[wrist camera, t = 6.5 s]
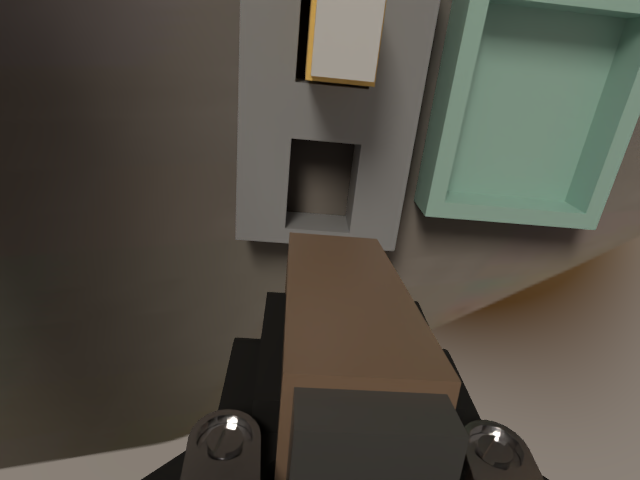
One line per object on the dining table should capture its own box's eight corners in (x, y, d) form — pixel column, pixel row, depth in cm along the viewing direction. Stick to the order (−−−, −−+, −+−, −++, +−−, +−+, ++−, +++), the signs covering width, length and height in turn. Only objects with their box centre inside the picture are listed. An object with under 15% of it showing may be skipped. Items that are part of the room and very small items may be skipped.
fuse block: (248, -57, 23) (241, -70, 21) (432, -35, 24) (448, -45, 21) (241, 221, 30) (235, 239, 27) (386, 232, 30) (394, 251, 28)
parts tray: (456, -21, 24) (476, -30, 22) (643, 1, 25) (684, -4, 22) (413, 200, 30) (425, 216, 27) (569, 213, 30) (595, 229, 28)
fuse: (311, -17, 24) (315, -49, 16) (365, -11, 24) (396, -39, 16) (305, 70, 26) (305, 81, 18) (355, 75, 26) (378, 88, 18)
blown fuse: (289, 232, 15) (280, 415, 6) (376, 238, 15) (486, 424, 6) (280, 349, 16) (263, 632, 8) (361, 353, 16) (433, 633, 8)
